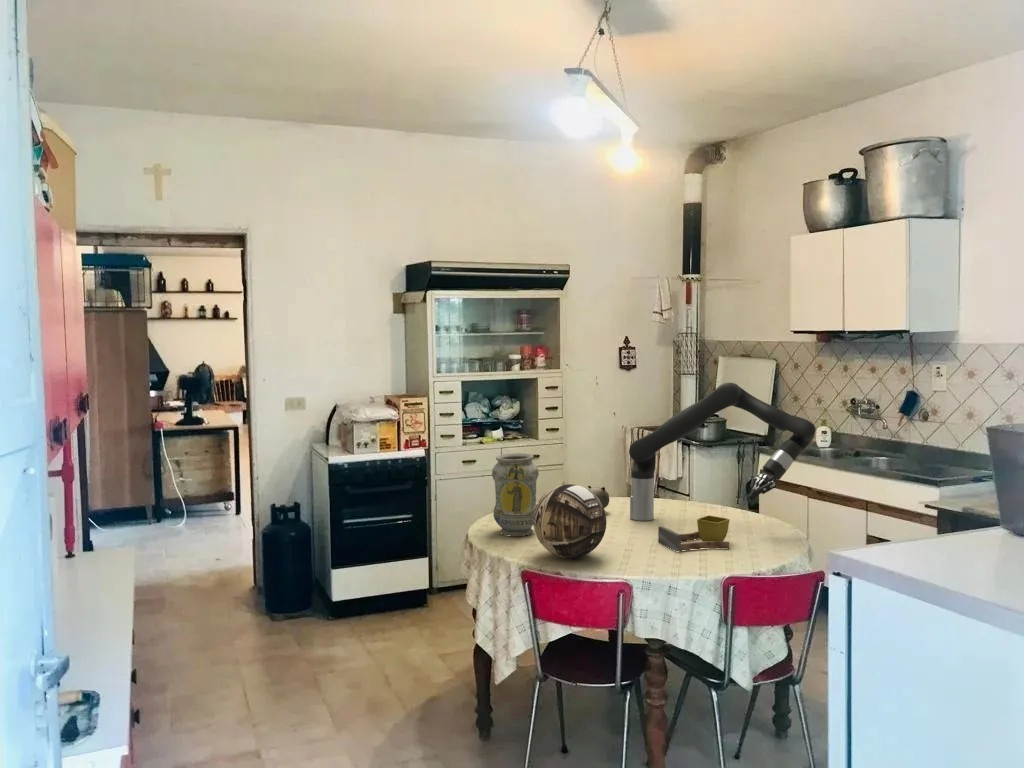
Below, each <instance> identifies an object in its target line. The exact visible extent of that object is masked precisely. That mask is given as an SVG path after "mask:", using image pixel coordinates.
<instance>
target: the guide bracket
mask: <svg viewBox="0 0 1024 768" xmlns="http://www.w3.org/2000/svg"><path fill="white" fill-rule="evenodd" d="M657 527H658V528H657V529H658V531H657V533H658V535H657V537H658V541H657V543H658V542H659V544H660V543H661V544H660V545H662V544H663V545H662V546H664V545H665V546H664V547H666V546H667V547H666V548H668V547H669V548H668V549H670V548H671V549H670V550H672V549H673V550H672V551H674V550H675V551H674V552H676V551H682V550H690V549H700V548H728V549H727V550H730V541H725V540H723V541H704V542H703V541H696V542H694V541H695V540H694V539H697V540H699V539H698V538H700V536H699V532H698V530H697V531H695V532H691V533H690V532H688V533H678V532H675V531H673V530H671V529H670V528H667V527H665V526H663V525H659V526H657ZM700 539H701V538H700ZM687 540H693V541H692V542H688V541H687ZM681 541H683V543H682V542H681ZM685 542H686V543H685ZM682 552H683V551H682Z"/></svg>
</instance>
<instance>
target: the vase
mask: <svg viewBox="0 0 1024 768" xmlns="http://www.w3.org/2000/svg"><path fill="white" fill-rule="evenodd" d="M495 459H496V461H497V463H495V464H494V466H493V467H492V469H491V476H492V479H493V481H494V488H495V489H494V492H495V505H494V508H493V514H492V515H493V519H494V521H495V522H496V524H497V525H498V526H499V527H500V528H501V529H500V531H499V533H500V534H501V533H502V534H504V535H510V536H521V537H526V536H525V535H528V536H530V534H531V535H533V533H534V530H533V529H532V527H534V523H533V518H534V512H535V509H536V506H537V504H538V503H537V480H538V478H539V475H540V474H539V468H538V466H537V465H536V464H535V463H534V462H533V459H534V454H531V453H524V452H523V453H521V452H515V453H514V452H512V453H503V454H497V455H496V456H495ZM502 534H501V535H502ZM504 535H503V536H504ZM510 536H509V537H510Z"/></svg>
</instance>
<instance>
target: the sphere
mask: <svg viewBox="0 0 1024 768" xmlns="http://www.w3.org/2000/svg"><path fill="white" fill-rule="evenodd" d="M536 504H537V506H536V509H535V512H534V518H533V523H534V525H533V529H534V530H533V531H534V534H535V535H536V537H537V539H538V541H539V543H540V545H542V547H543V548H544V549H545V550H547V551H548V552H549V553H551V554H552V555H554V556H557V557H558V558H559V557H560V558H564V559H577V558H581V557H585V556H586V555H588V554H590V553H591V552H592V551H594V550H595V549H596V548H597V547H598V546H599V545H600V543H601V542H602V541H603V538H604V537H605V533H606V530H607V515H606V510H605V508H604V507H603V505H602V503H601V501H600V500H599V499H598V497H597V496H596V495H595V494H594V493H592V492H591V491H590V490H589V488H586V487H584V486H582V485H579V484H567V483H566V484H561V485H557V486H556V487H553V488H551V489H550V490H548V491H547V492H545V494H543V495H542V497H541V498H540V499H539V500H538V502H537V503H536Z"/></svg>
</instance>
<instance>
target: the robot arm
mask: <svg viewBox="0 0 1024 768" xmlns="http://www.w3.org/2000/svg"><path fill="white" fill-rule="evenodd" d="M729 407H735V408H737V409H738V408H739V409H741V410H743V411H746V412H748V413H750V414H751V415H753V416H754V417H756V418H758V419H759V420H760V421H762V422H763V423H765V424H767V425H769V426H771V427H774V428H775V429H777V430H779V431H781V432H786V431H788V432H791V433H792V435H791V436H790V437H789V439H787V440H785V441H784V442H783V443H782V444H781V445H780V447H779V448H778V449H777V450H776V451H775V452H774V453H772V455H771V456H770V458H769V459H768V460H767V461H766V462H765V464H764V465H763V466H762V471H761V473H759V474H758V476H755V475H753V476H752V477H751V481H750V482H751V483H750V488H751V491H750V492H749V494H747V495H746V498H747V500H748V501H750V502H753V501H754V500H756V498H757V497H758V495H761V494H762V495H764V494H766V493H768V492H770V491H772V490H773V489H775V488H776V487H777V484H776V481H780V480H781V479H782V477H783V476H784V475H785V474H786V473H787V471H788V470H789V469H790V468H791V466H792V465H793V463H794V462H795V460H797V458H798V457H799V456H800V454H801V453H802V452H803V451H804V450H805V449H806V448H807V447H808V446H809V444H811V442H812V441H813V439H814V438H815V434H816V426H815V424H813V422H811V421H810V420H808V419H805V418H804V417H803V418H802V417H800V416H796V415H792V414H790V413H788V412H786V411H784V410H782V409H780V408H778V407H775V406H773V405H772V404H769V403H767V402H764V401H763V400H762V399H759V398H757V397H755V396H754V395H752V394H750V393H749V392H748V391H746V390H745V389H744V388H742V387H740V386H739V385H738V384H736V383H735V382H725V383H722V384H719V386H717V387H716V388H715V389H714V390H713V391H711V392H710V393H709V394H707V396H705V397H703V399H701V400H699V401H697V402H695V403H692V404H691V405H689V406H687V407H686V408H684V409H682V410H681V411H679V412H678V413H675V415H673V416H672V417H670V418H669V419H667V420H666V421H665V422H664V423H662V424H661V425H660V426H659V427H658V428H656V429H655V430H654V431H652V432H650V433H649V434H647V435H645V436H643V437H641V438H638V439H635V440H634V441H633V442H632V443H631V444H630V446H629V449H628V454H629V456H630V458H631V459H632V460H633V465H632V469H631V471H630V473H631V474H630V475H631V476H630V477H631V478H630V479H631V480H630V481H631V482H630V483H631V484H630V486H631V489H630V491H631V493H630V494H631V495H630V496H629V497H630V499H629V501H630V502H629V519H630V520H635V521H640V522H642V521H643V522H646V521H652V520H654V518H655V517H654V515H655V513H654V512H655V511H654V510H655V508H654V507H655V505H654V504H655V503H654V501H655V472H656V459H657V458H656V457H657V456H656V455H657V452H658V451H660V450H661V449H663V448H664V447H666V446H668V445H670V444H672V443H675V442H677V441H679V440H680V439H683V438H685V437H686V436H688V435H689V434H691V433H692V432H695V431H696V430H697V429H698V428H700V427H701V426H703V425H704V423H706V422H707V421H708V420H709V419H710V418H712V416H713V415H715V414H717V413H719V412H720V411H723V410H725V409H727V408H729Z"/></svg>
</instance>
